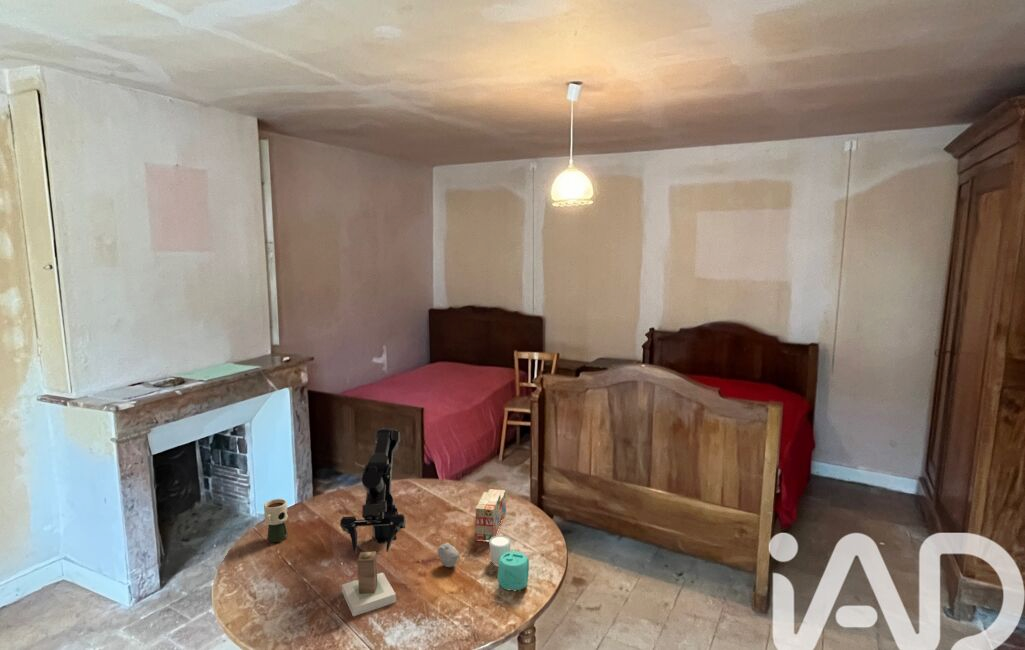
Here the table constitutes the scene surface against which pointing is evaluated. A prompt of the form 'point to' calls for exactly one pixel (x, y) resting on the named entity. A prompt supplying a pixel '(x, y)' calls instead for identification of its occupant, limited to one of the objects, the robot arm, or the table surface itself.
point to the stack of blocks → (490, 514)
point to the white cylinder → (499, 547)
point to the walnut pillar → (367, 572)
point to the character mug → (276, 519)
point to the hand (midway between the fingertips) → (371, 552)
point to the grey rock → (448, 554)
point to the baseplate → (368, 596)
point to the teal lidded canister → (513, 570)
